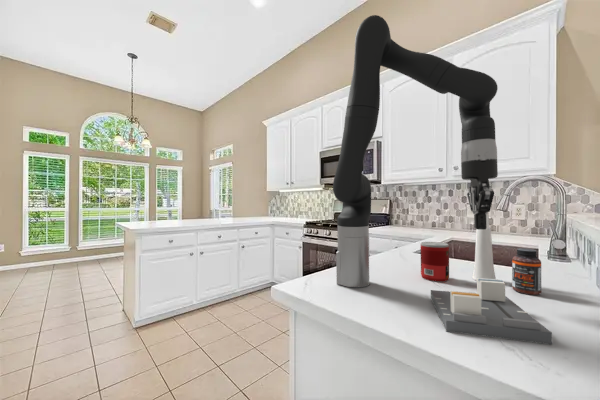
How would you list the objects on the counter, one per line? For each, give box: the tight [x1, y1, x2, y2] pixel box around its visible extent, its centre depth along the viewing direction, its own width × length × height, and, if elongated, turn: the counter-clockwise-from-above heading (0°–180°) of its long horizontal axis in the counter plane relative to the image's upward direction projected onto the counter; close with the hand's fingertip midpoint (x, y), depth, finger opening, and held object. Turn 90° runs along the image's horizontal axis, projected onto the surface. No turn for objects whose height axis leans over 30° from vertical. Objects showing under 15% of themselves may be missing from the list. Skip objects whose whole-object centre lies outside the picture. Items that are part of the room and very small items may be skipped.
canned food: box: [420, 241, 450, 283], centre depth 84 cm, size 8×8×11 cm
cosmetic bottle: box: [471, 212, 497, 282], centre depth 82 cm, size 6×6×22 cm
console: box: [430, 289, 553, 345], centre depth 56 cm, size 16×18×3 cm
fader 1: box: [449, 290, 481, 315], centre depth 52 cm, size 5×3×4 cm, turn 72°
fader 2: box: [476, 278, 506, 302], centre depth 61 cm, size 5×3×4 cm, turn 72°
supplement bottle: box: [511, 247, 542, 296], centre depth 71 cm, size 6×6×11 cm
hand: (480, 229), depth 67 cm, fingers closed
